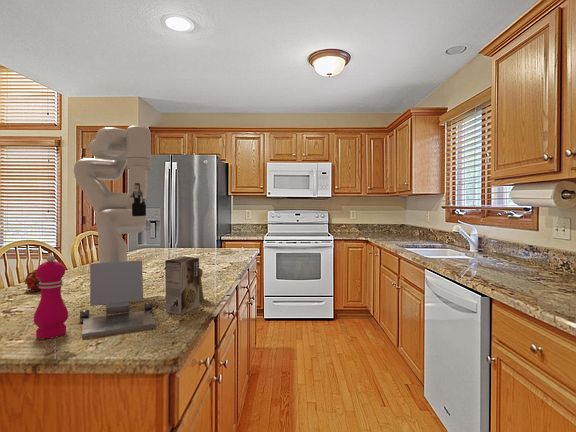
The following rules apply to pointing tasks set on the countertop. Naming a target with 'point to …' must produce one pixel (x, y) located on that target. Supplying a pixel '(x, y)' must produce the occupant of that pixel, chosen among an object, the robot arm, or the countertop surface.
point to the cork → (200, 286)
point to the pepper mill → (50, 300)
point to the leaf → (116, 285)
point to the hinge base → (117, 322)
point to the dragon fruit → (32, 281)
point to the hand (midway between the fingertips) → (139, 216)
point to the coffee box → (182, 284)
